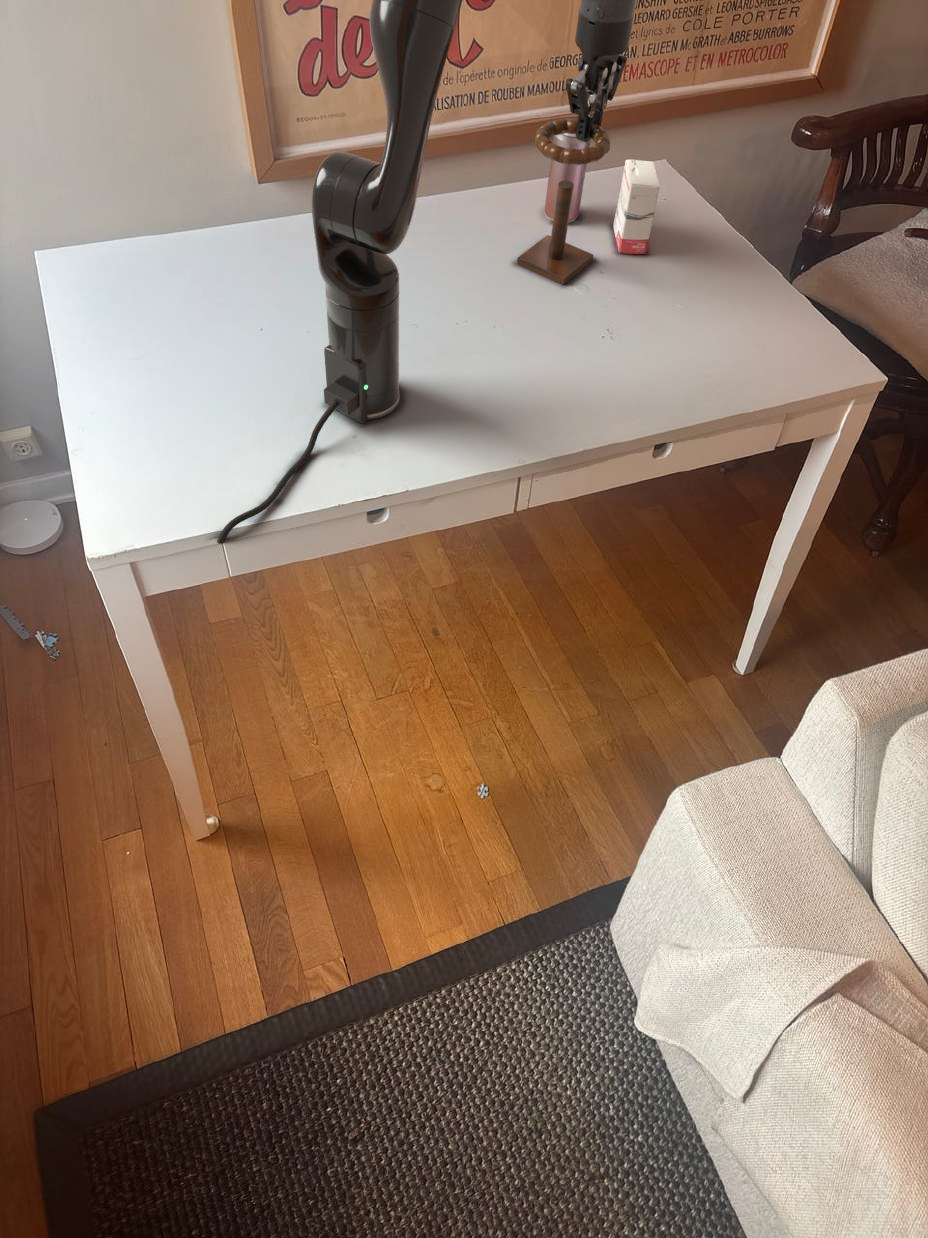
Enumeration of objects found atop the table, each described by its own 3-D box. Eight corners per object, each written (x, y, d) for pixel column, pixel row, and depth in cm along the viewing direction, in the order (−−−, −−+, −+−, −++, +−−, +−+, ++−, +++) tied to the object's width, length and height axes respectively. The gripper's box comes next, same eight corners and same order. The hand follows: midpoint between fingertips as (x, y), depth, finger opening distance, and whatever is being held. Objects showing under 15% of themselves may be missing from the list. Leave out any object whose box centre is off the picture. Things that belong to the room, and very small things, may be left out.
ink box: (646, 255, 160) (661, 186, 151) (617, 253, 160) (630, 184, 151) (640, 227, 165) (654, 158, 156) (612, 225, 165) (624, 157, 156)
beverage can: (549, 203, 169) (561, 115, 157) (582, 210, 168) (596, 123, 156) (539, 219, 165) (550, 131, 153) (573, 227, 164) (586, 139, 152)
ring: (583, 174, 138) (585, 161, 136) (520, 149, 142) (521, 136, 140) (622, 145, 143) (624, 132, 142) (560, 122, 147) (561, 108, 146)
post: (563, 284, 153) (575, 206, 143) (516, 264, 156) (525, 185, 146) (592, 260, 158) (606, 183, 148) (546, 240, 161) (557, 163, 151)
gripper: (609, -14, 136) (589, 112, 150) (556, 15, 129) (541, 145, 142) (655, 1, 133) (631, 128, 147) (604, 32, 126) (584, 162, 140)
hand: (587, 136), depth 145 cm, fingers closed on ring, 2 cm apart
